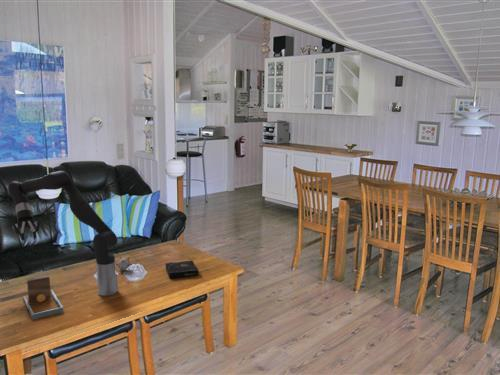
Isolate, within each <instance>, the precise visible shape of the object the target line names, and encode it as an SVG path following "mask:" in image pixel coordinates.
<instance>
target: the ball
mask: <svg viewBox="0 0 500 375" xmlns="http://www.w3.org/2000/svg"><path fill="white" fill-rule="evenodd" d="M45 300H46V298H45V295H43V294H39V295H38V296H37V300H36V301H37V302H38V303H43V302H44V301H45Z"/></svg>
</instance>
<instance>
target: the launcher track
mask: <svg viewBox="0 0 500 375" xmlns="http://www.w3.org/2000/svg"><path fill="white" fill-rule="evenodd" d="M50 291H51V297H52V298H53V300H54V301H55V304H57V299H59V298H58V296H57V295H56V293H55V292H54V290H52V289H50ZM23 302H24V303H25V306H26V308H27V311H28V312H29V308H28V306H31V305H30V303H29V300H28V297H27V296H26V295H25V296H23Z"/></svg>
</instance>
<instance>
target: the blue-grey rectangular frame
mask: <svg viewBox="0 0 500 375" xmlns="http://www.w3.org/2000/svg"><path fill="white" fill-rule="evenodd" d="M56 305H57V307H56V308H52V309H51V308H50V309H48V310H43V311H39V312H35V313H34V311H33V309H32V307H31V305H30V306H28V308H29V311H28V312H29V314H30V317H31V319H32V321H33V320H37V319H41V318H45V317H49V316H53V315H58V314H61V313H64V306H63V305H62V303H61V302H60V300H59V298H58V299H57V303H56Z"/></svg>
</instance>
